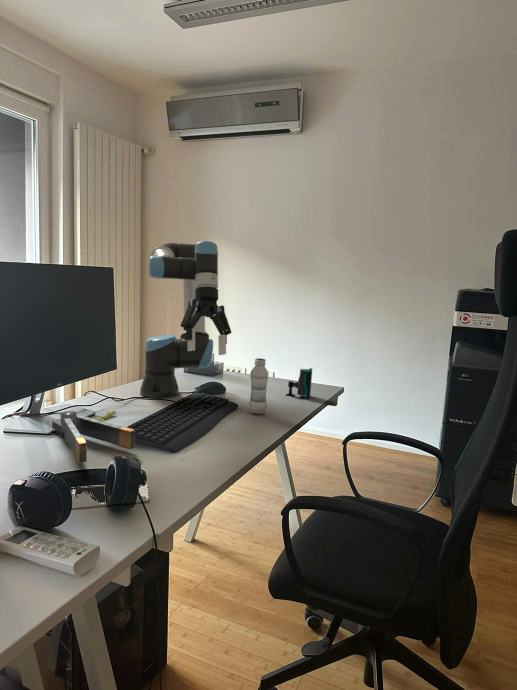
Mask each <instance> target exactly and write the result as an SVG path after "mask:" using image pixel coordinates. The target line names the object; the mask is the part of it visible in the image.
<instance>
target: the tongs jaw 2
mask: <svg viewBox="0 0 517 690" xmlns="http://www.w3.org/2000/svg"><path fill="white" fill-rule="evenodd" d="M76 416H77V417H76V428H77V430H78V431H79V433H80V434H81V436H82V435H83V436H85V437H89V438H91V439H95V440H98V441H102V442H104V443H108V444H112V445H116V446H118V447H121V448H123V449H127V450H132V449H135V448H136V447H135V446H136V444H135V440H136V433H135V432H136V429H134V428H129V427H125V426H121V425H117V424H115V423H114V424H113V423H109V422H106V421H105V422H103V421H99V420H96V419H92V418H93V417H88V416H84V415H76Z"/></svg>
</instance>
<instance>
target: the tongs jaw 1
mask: <svg viewBox="0 0 517 690" xmlns="http://www.w3.org/2000/svg"><path fill="white" fill-rule="evenodd" d="M64 436H65V438H66V439H65V438H64V439H65V440H66V441H67V443H68V444H69V446H70V448H71V450H72V452H73V453H74V455H75V458H76V460H77V462H78V463H79V464H82V463H87V462H88V461H87V458H88V457H87V453H88V451H87V450H88V449H87V445H88V444H87V441H86V440H85V438H84V437H83V436H82V435H81V434H80V433H79V431H78V430H77V428H76V427H75V425H74V424H73V422H72V421H71V419H70V418H67V419H64Z"/></svg>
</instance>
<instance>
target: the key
mask: <svg viewBox="0 0 517 690" xmlns="http://www.w3.org/2000/svg"><path fill="white" fill-rule="evenodd" d="M106 413H107V414H105V415H103V416H102V415H101V416H99V417H91V418H92V419H96V420H99V421H103V422H106V419H108V418H110V417H112V416H114V415H115V414H116V413H117V412H116V410H108V411H106Z"/></svg>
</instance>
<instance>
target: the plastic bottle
mask: <svg viewBox="0 0 517 690" xmlns="http://www.w3.org/2000/svg"><path fill="white" fill-rule="evenodd" d="M266 361H267V360H266V359H265V358H257V357H256V358H254V367H253V368H251V370H250V372H249V375H250V376H249V377H250V391H251V392H250V397H249V402H248V410H249V412H250V413H251V414H255V415H263V414H265V413H266V412H267V410H268V403H267V402H268V401H267V386H268V379H269V376H270V375H269V371H268V369H267V368H266V364H267V363H266Z"/></svg>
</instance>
